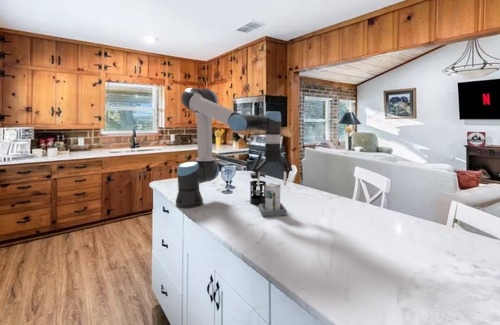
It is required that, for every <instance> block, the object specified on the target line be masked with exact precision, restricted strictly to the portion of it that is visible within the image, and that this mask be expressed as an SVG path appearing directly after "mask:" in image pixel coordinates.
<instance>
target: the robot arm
mask: <svg viewBox="0 0 500 325" xmlns="http://www.w3.org/2000/svg"><path fill="white" fill-rule="evenodd" d="M180 97H181V98H180V101H181V104H182V105H183V107H184V108H185V109H187V110H190V111H192V112H193V114H194V115H195V116H196V134H197V135H196V138H197V140H196V141H197V143H196V144H197V157H195V161H187V162H183V163H180V164H179V165H178V166H177V171H176V174H177V187H178V188H177V190H178V192H177V195H176V198H175V206H176V207H178V208H183V209H185V208H187V209H188V208H195V207H199V206H202V205H203V204H204V200H203V197H202V193H201V191H200V184H202V183H207V182H212V181H213V180H216V179H217V177H218V176H219V173H220V167H219V165H218V162H216V159H215V158H214V156H213V124H212V119H213V120H215V121H218V122H220V123H222V124H224V125H226V126H228V127H229V129H230V130H231V131H232V132H233V131H234V132H239V133H240V132H249V131H264V133H265V138H264V139H265V140H264V141H265V144H264V152H258V156H257V158H256V160H255V162H254V164H253V167H252V168H251V171H252V172H253V173H255V177H256V179H255V180H256V181H257V184H258V186H257V187H260V184H261V183H260V181H261V179H260V178H261V176H260V173H261V172H260V171H261V170H262V168H263V167H264V166H265V165H266V164H267V163H268V162H274V163H275V162H278V163H279V165H280V166H281V167H282V168H283V170H285V171H283V185H284V186H287V179H288V178H289V174H290V172H293V168H292V166H291V163H290V161H289V159H288V157H287V152H281V137H282V136H281V129H282V128H281V127H282V113H281V112H280V111H274V110H273V111H268V110H267V111H266V112H265V114H264V115H261V114H260V115H259V114H258V115H256V114H250V115H249V114H241V113H240V112H237V111H234V110H232V109H230V108H227V107H225V106H223V105H220V104H219V100H218V96H217V94H216V93H215V92H214V91H213V90H210V89H206V88H195V87H189V88H186V89H185V90H184V91H183V92H182V93H181V96H180ZM263 157H265V158H264V159H263V161H262V162H260V161H261V159H262V158H263ZM281 157H283V159H284V162H285V163H286V165H285V164H284V163H283V162H282V161H281V159H280V158H281ZM258 163H261V164H260V165H259V167H257V165H258ZM286 166H287V167H286Z"/></svg>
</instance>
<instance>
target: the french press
mask: <svg viewBox="0 0 500 325" xmlns="http://www.w3.org/2000/svg"><path fill="white" fill-rule="evenodd" d="M261 163H262V162H259V163H258V165H257V167H256V168H258V167H259V165H260V164H261ZM249 175H250V178H251V179H253V180H252V181H250V183H249V185H250V187H249V188H250V198H249V199H250V200H249V203H250V204H251V205H254V206H259V204H266V184H267V182H266V181H264V180H260V186H258V184H257V179H256V177H255V172H251V173H250V174H249ZM266 175H267V173H265V172H260V177H263V178H264V179H266ZM258 187H259V189H258Z"/></svg>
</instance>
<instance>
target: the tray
mask: <svg viewBox="0 0 500 325" xmlns="http://www.w3.org/2000/svg"><path fill="white" fill-rule="evenodd" d="M265 206H266V204H259V205H258V210H259V212H260V214H261V217H262V218H267V217H268V218H269V217H270V218H271V217H287V216H288V215H287V212H288V211H287V209H286V207H285V206H284V205H283V203H282V202H280V210H265Z"/></svg>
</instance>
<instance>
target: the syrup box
mask: <svg viewBox="0 0 500 325" xmlns="http://www.w3.org/2000/svg"><path fill="white" fill-rule="evenodd" d="M280 203H281V183H273V182H269V183H266V206H265V210H280Z"/></svg>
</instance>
